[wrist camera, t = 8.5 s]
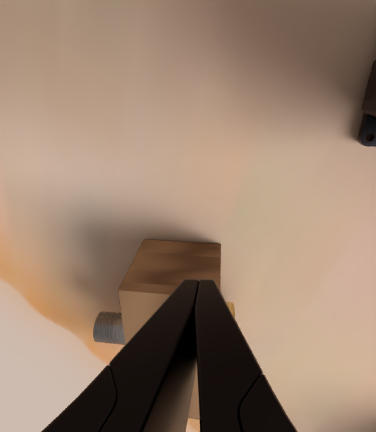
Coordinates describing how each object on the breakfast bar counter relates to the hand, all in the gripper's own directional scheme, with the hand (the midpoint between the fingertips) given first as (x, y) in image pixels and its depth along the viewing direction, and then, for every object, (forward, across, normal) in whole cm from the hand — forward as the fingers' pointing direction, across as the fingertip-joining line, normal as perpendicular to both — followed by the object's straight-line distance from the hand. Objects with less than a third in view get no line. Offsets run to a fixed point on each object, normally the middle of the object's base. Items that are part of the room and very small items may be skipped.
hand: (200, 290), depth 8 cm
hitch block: (+12, +3, +11) cm, 17 cm away
